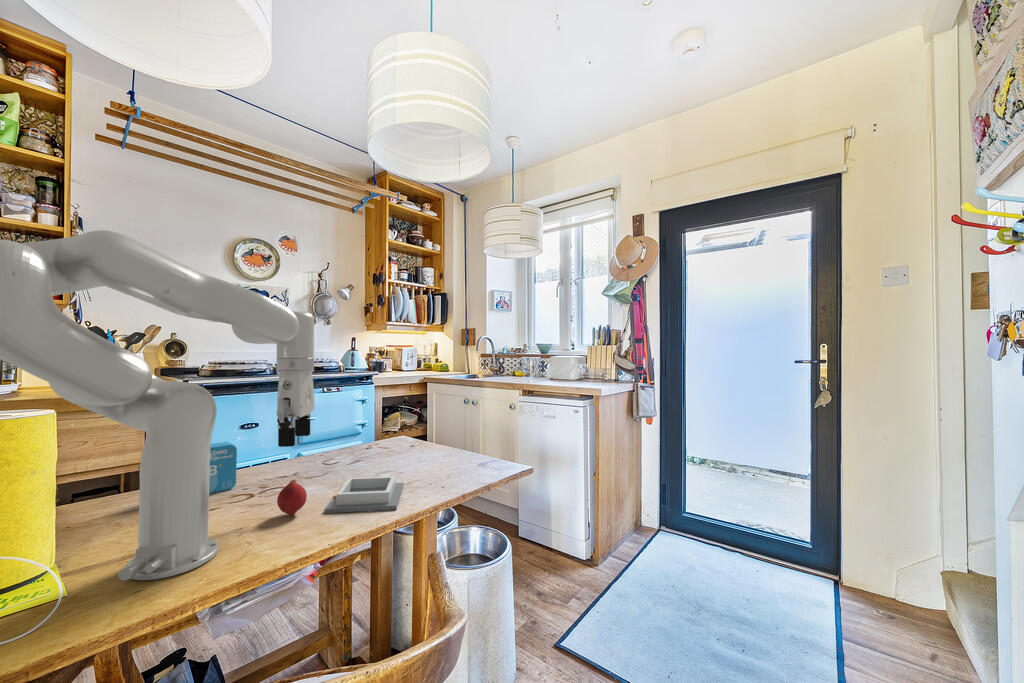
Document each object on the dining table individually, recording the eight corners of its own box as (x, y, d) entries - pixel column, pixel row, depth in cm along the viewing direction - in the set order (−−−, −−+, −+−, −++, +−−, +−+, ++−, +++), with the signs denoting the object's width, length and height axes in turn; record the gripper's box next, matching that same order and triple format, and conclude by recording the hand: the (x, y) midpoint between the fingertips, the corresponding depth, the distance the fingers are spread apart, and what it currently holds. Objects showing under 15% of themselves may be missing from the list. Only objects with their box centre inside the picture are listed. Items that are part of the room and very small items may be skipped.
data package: (178, 500, 98) (179, 451, 98) (175, 496, 101) (176, 448, 101) (236, 488, 107) (237, 443, 107) (231, 484, 110) (232, 440, 110)
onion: (297, 520, 88) (297, 484, 88) (271, 520, 88) (272, 483, 88) (310, 510, 94) (311, 475, 94) (286, 509, 94) (287, 475, 94)
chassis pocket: (396, 509, 94) (396, 494, 94) (324, 513, 92) (324, 498, 92) (403, 486, 110) (403, 473, 110) (342, 488, 108) (342, 475, 108)
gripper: (299, 368, 83) (298, 450, 83) (324, 363, 100) (324, 431, 100) (260, 368, 82) (259, 451, 82) (292, 363, 99) (291, 432, 99)
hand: (295, 440), depth 91 cm, fingers open, 9 cm apart
